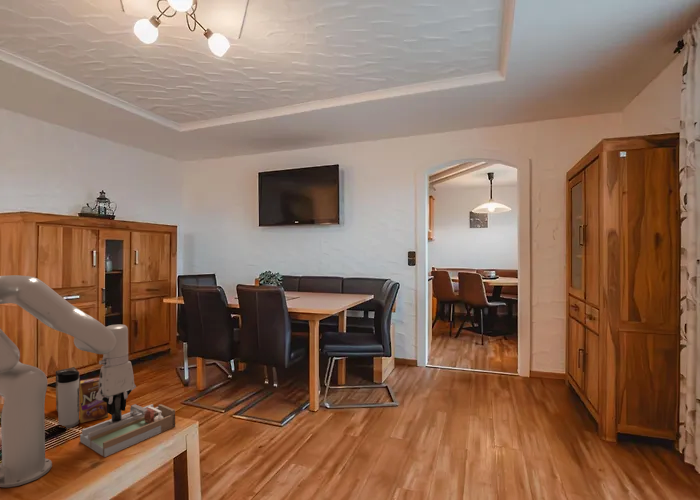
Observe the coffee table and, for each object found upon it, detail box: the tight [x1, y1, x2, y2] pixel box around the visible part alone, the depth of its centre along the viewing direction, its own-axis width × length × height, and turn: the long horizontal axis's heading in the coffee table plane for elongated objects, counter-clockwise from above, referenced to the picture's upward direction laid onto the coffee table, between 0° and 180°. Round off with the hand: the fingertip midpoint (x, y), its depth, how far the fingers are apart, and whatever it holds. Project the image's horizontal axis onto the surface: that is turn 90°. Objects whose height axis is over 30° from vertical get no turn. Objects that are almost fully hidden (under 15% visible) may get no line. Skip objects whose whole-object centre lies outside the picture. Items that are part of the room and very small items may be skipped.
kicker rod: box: [109, 393, 154, 425], centre depth 135 cm, size 10×12×11 cm
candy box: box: [79, 376, 109, 424], centre depth 145 cm, size 9×4×15 cm, turn 127°
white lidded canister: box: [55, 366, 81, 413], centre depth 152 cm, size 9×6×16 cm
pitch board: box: [79, 403, 176, 458], centre depth 134 cm, size 24×17×7 cm
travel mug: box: [57, 371, 80, 429], centre depth 140 cm, size 6×7×20 cm
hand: (116, 411), depth 134 cm, fingers closed on kicker rod, 3 cm apart
